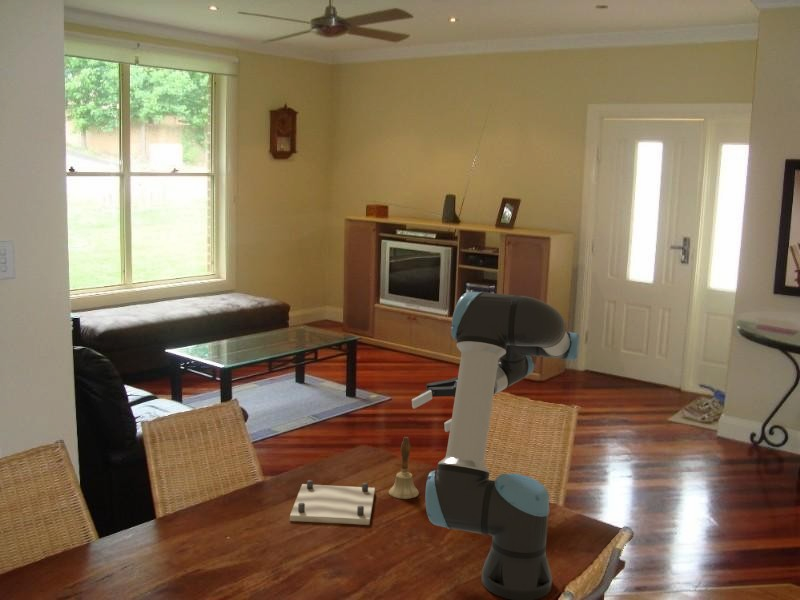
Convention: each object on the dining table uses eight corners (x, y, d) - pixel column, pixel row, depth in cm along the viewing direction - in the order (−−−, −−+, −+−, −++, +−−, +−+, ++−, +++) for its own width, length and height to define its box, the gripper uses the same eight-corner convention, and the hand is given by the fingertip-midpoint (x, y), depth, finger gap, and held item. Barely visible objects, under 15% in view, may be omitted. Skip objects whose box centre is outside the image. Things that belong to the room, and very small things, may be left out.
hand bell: (385, 488, 226) (387, 433, 224) (413, 486, 229) (415, 431, 226) (393, 500, 218) (395, 443, 216) (422, 497, 221) (425, 441, 218)
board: (369, 524, 203) (369, 511, 202) (289, 520, 204) (290, 507, 203) (374, 492, 223) (374, 480, 222) (302, 489, 223) (302, 477, 223)
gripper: (519, 414, 220) (460, 449, 209) (458, 375, 237) (401, 406, 227) (519, 391, 216) (459, 426, 205) (457, 354, 234) (399, 384, 223)
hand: (428, 415), depth 216 cm, fingers open, 13 cm apart
